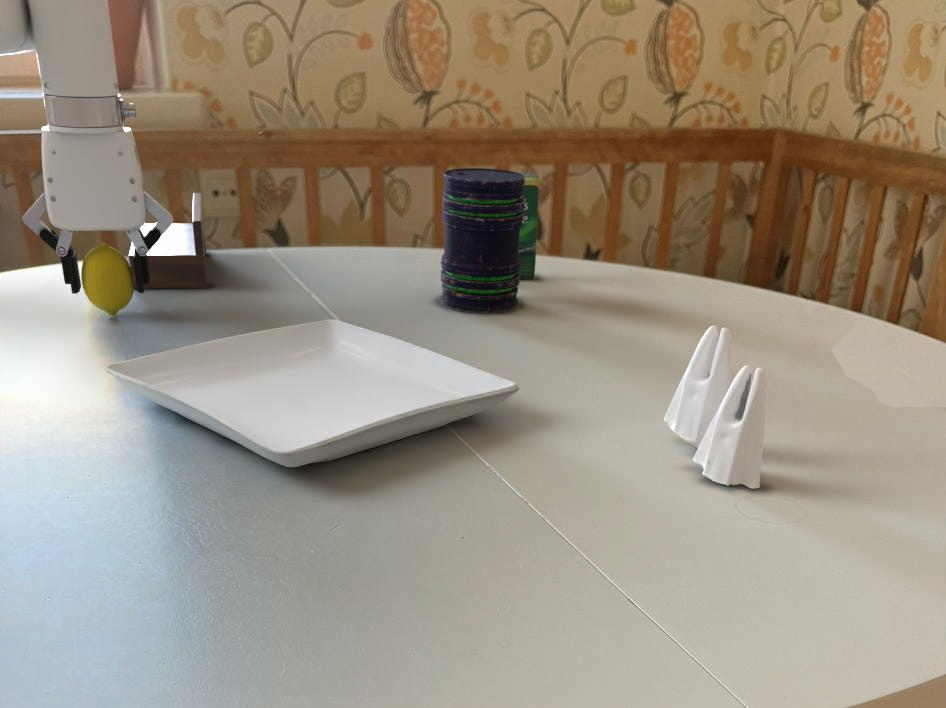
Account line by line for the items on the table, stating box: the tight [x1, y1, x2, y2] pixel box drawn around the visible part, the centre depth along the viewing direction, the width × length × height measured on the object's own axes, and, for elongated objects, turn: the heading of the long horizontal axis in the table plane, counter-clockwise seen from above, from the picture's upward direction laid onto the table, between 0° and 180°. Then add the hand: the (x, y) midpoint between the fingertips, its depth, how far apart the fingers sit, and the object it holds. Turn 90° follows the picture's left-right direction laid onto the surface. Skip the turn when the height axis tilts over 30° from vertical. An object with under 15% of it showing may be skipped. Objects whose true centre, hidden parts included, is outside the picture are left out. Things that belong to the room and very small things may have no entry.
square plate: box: [102, 318, 520, 468], centre depth 95 cm, size 27×27×4 cm
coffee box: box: [518, 173, 540, 280], centre depth 141 cm, size 8×3×13 cm, turn 95°
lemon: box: [80, 242, 135, 317], centre depth 118 cm, size 6×6×8 cm
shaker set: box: [663, 324, 767, 490], centre depth 87 cm, size 12×4×11 cm, turn 14°
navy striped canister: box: [440, 167, 525, 314], centre depth 128 cm, size 10×10×15 cm
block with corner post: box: [128, 192, 208, 290], centre depth 138 cm, size 20×9×8 cm, turn 13°
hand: (109, 288), depth 118 cm, fingers open, 6 cm apart
